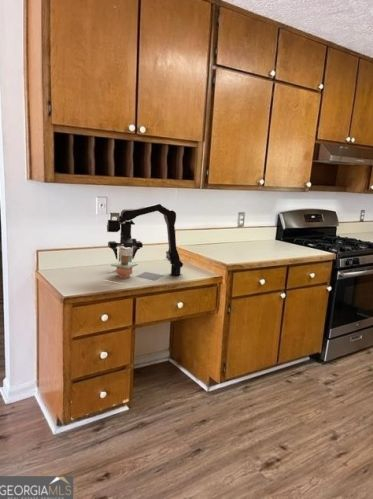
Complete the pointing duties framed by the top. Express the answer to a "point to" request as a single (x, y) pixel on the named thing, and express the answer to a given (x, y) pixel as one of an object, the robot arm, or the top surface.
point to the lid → (124, 262)
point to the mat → (150, 276)
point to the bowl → (124, 272)
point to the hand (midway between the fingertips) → (124, 259)
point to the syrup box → (125, 253)
